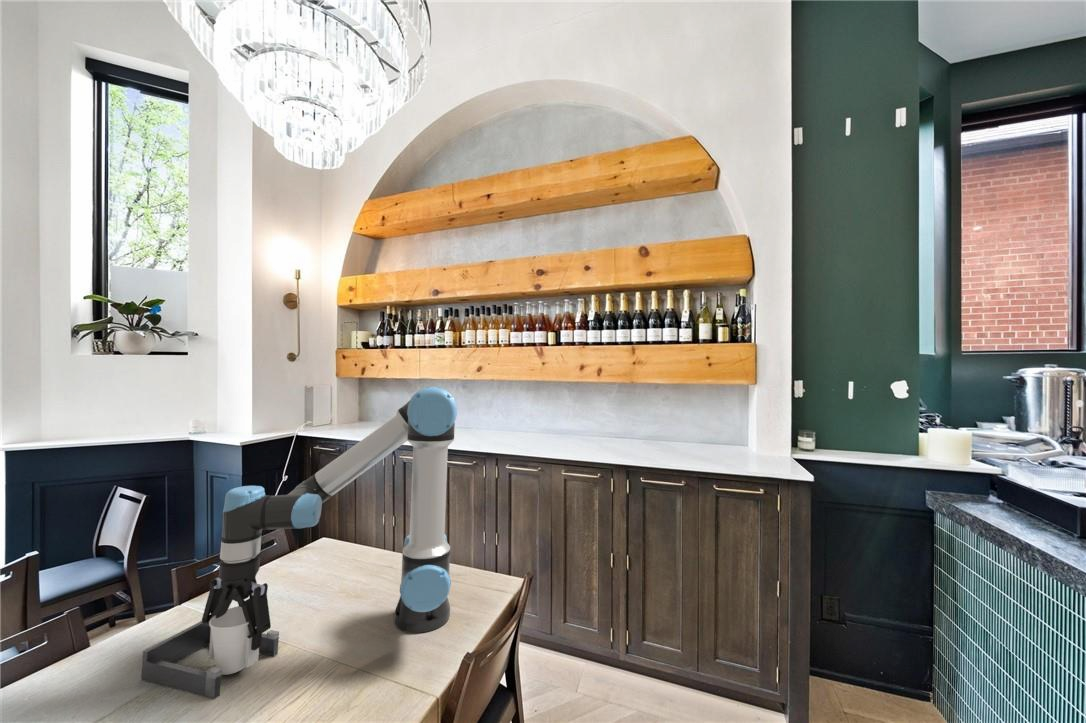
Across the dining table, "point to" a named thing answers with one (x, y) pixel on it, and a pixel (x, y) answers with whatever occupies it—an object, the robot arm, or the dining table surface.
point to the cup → (229, 640)
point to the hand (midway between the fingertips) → (233, 659)
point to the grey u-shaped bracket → (167, 673)
